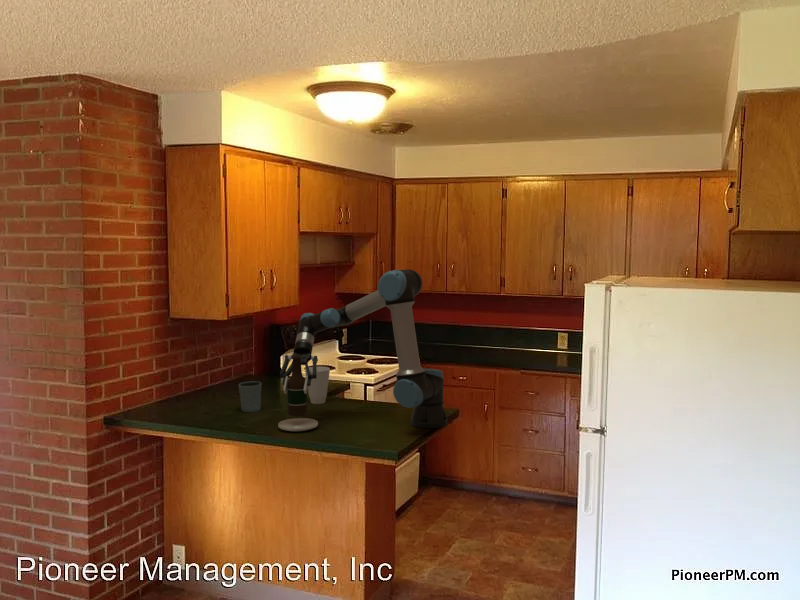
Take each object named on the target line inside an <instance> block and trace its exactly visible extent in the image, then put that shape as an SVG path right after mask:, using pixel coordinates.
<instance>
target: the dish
mask: <svg viewBox="0 0 800 600" xmlns="http://www.w3.org/2000/svg"><path fill="white" fill-rule="evenodd" d="M277 425H278V426H277V427H278V429H280V430H283V431H288V432H293V433H294V432H296V433H298V432H299V433H300V432H306V431H309V430H312V429H316V428H317V427H318V425H319V422H318V420H316V419H313V418H306V417H304V418H303V417H296V418H294V417H293V418H288V419H284V420H281V421H279V422H278V424H277Z"/></svg>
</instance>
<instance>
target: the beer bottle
mask: <svg viewBox="0 0 800 600" xmlns="http://www.w3.org/2000/svg"><path fill="white" fill-rule="evenodd" d="M301 359H302V358H301V356H298V355H296V356H293V357H292V359H291V360H292V361H293V366H292V373H291V375H290V376H289V381H288V388H287V414H288V415H289V416H290V417H296V418H299V417H305V416H306V415H307V413H308V393H307V394H305V393H304V385H305V379H306V378H305V377H304V375H303V372H302V371H303V370H302V369H303V368H302V365H301Z"/></svg>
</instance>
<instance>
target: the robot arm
mask: <svg viewBox="0 0 800 600" xmlns="http://www.w3.org/2000/svg"><path fill="white" fill-rule="evenodd" d="M377 284H378V285H377V290H375V291H373V292H371V293H369V294H367V295H365V296H363V297H361V298H359V299H357V300H355V301H353V302H350V303H348V304H346V305H345V306H342V307H341V308H334V307H330V308H327V309H324V310H322V311H320V312H318V313H316V314H314V313H313V312H305V313H303V314H301V316H300V318H299V322H298V329H297V333H296V337H295V338H296V339H295V344H294V346H293V347H294V348H293V353H292V354H291V355H288V354H285V355H284V361H283V365H282V367H281V369H280V372H279V377H280V378H281V379H282V386H283V389H282V390H283V392H284V394H288V389H287V388H288V381H289V379H290V377H291V375H292V366H293V359H292V357H293V356H296V355H298V356H301V358H302V359H301V366H305V369H306V370H307V374H308V377H306V376H305V378H304V379H305V385H304V393H305V394H307V395H308V386H310V385H311V380H312V379H313V378H314V379H316V377H317V367H318V365H317V364H318V361H319V359H318V358H319V357H318V355H312V353H313V346H314V343H315V336H316V334H319V333H320V332H322V331H325V330H327V329H332V328H337V327H342V326H343V327H344V326H348V325H350V324H352V323H354V321H357V320H359V319H360V318H363V317H365V316H367V315H369V314H372V313H373V312H376V311H378V310H380V309H382V308H384V307H387V309H389V310H390V317H391V322H392V329H393V330H392V331H393V338H394V345H395V350H396V359H397V364H398V370H397V372H396V374H395V376H396V377H395V378H396V382H395V385H394V386H393V392H392V394H393V397H394V399H395V401H396V402H397V403H398V404H399V405H400V406H401V407H404V408H409V409H410V408H411V409H412V408H413V411H412V414H411V418H410V424H411V426H413V427H416V428H420V429H439V428H444V427H446V426H447V425H448V416H447V413H446V411H445V407H444V380H445V378H444V372H443V371H442V370H441V369H436V368H425V367H424V368H423V367H422V366H421V361H420V355H419V347H418V340H417V334H416V327H415V320H414V313H413V306H414V304H415V303H416V301H415V297H416V296H418V295H419V294H420V293H421V291H422V288H423V279H422V276H421V275H420V274H419V272H417V271H416V270H414V269H410V268H409V269H407V268H406V269H393V270H389V271H386V272H385V273H383V274H382V276H381V277H380V278H379V281H378V283H377ZM310 361H312V367H313V374H311V373H310V370H309V362H310ZM290 362H291V363H290ZM289 363H290V365H289Z"/></svg>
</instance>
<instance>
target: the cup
mask: <svg viewBox="0 0 800 600" xmlns="http://www.w3.org/2000/svg"><path fill="white" fill-rule="evenodd" d="M308 367H309V366H308ZM309 370H310V373H311V374H313V366H310V367H309ZM304 371H305V378H306V377H308V374H307V370H306V368H304ZM330 372H331V368H330V367H329V366H317V377H316V379H314V378H313V379H312V380H311V385H310V386H308V388H307V393H308V398H309V401H310V403H311V404H313V405H320V404H321V405H322V404H325V403H326V400H327V399H326V398H327V396H328V395H327V394H328V388H329V382H330V381H329V380H330Z"/></svg>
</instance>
